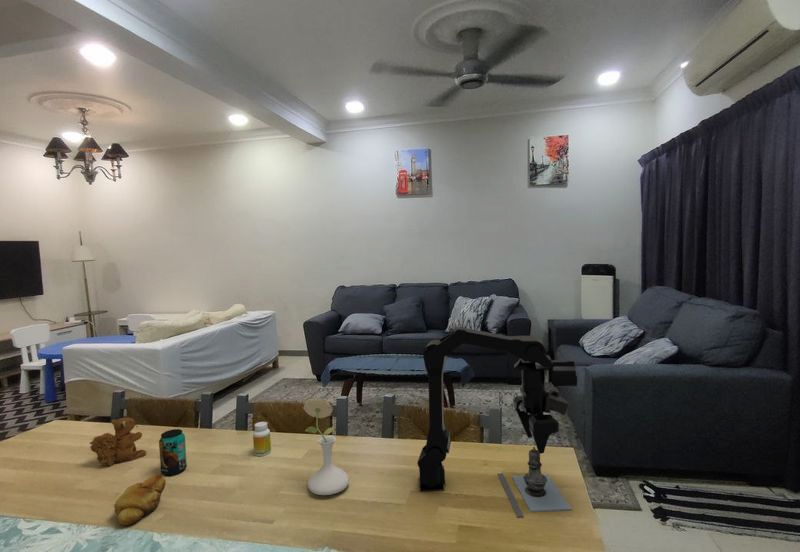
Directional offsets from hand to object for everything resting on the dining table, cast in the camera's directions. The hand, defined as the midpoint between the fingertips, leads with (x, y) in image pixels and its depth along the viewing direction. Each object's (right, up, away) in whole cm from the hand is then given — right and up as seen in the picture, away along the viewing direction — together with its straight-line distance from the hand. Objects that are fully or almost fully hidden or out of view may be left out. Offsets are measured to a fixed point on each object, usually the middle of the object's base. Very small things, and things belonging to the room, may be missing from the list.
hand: (535, 445), depth 110 cm
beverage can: (-105, -16, +20) cm, 108 cm away
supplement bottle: (-81, -15, +30) cm, 87 cm away
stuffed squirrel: (-128, -17, +29) cm, 132 cm away
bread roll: (-103, -17, -1) cm, 104 cm away
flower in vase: (-56, -15, +7) cm, 58 cm away
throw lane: (0, -13, +1) cm, 13 cm away
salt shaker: (0, -13, +1) cm, 13 cm away
